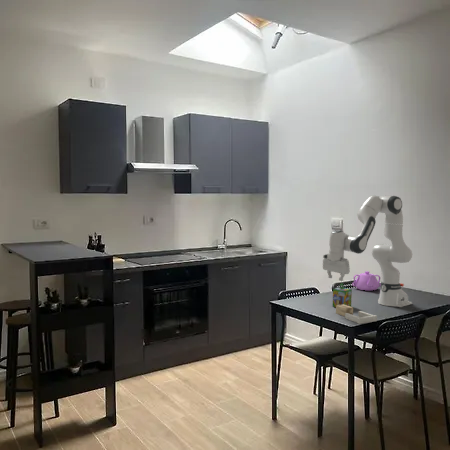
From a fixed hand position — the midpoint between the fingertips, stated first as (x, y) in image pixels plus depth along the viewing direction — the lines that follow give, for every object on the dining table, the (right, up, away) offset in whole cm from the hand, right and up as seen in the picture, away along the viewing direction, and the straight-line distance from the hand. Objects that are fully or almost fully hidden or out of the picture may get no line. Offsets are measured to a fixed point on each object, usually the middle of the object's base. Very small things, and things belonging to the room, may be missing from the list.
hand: (335, 279), depth 280 cm
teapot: (+40, -16, +66) cm, 79 cm away
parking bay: (+10, -21, -18) cm, 29 cm away
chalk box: (+7, -19, +13) cm, 24 cm away
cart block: (+4, -21, -6) cm, 22 cm away
